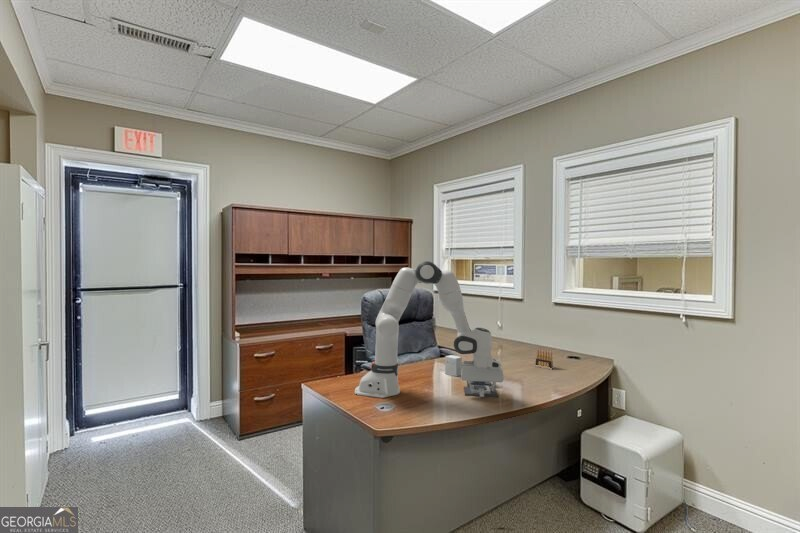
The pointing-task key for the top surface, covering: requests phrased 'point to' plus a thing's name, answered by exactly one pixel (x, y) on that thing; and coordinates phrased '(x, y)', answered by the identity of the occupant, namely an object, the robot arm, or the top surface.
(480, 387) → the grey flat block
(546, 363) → the ammunition clip
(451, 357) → the small box
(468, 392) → the pad
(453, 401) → the top surface
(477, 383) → the vise
